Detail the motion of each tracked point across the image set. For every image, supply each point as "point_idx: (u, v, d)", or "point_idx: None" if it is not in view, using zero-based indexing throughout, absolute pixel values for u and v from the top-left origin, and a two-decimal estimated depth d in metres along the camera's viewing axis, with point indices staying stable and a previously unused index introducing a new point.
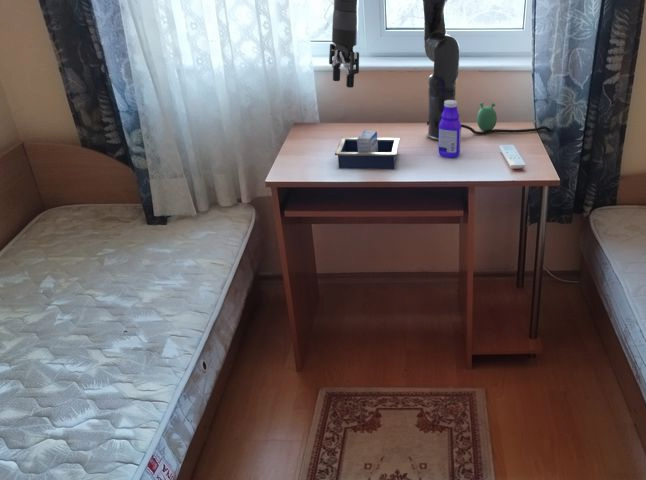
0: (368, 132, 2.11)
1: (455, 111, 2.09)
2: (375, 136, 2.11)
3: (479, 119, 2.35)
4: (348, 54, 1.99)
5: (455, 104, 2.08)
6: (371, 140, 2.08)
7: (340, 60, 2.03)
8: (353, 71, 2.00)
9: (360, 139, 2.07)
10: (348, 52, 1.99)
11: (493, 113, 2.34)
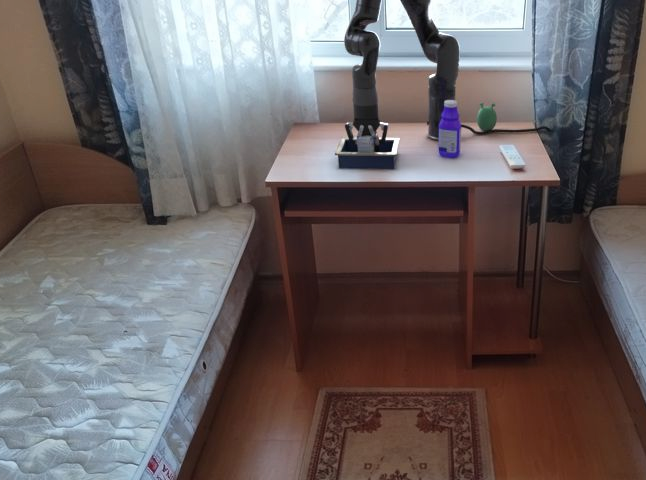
0: None
1: (455, 111, 2.09)
2: None
3: (479, 119, 2.35)
4: (379, 124, 2.07)
5: (455, 104, 2.08)
6: (371, 140, 2.08)
7: (366, 133, 2.08)
8: (384, 140, 2.10)
9: (360, 139, 2.07)
10: (379, 124, 2.07)
11: (493, 113, 2.34)
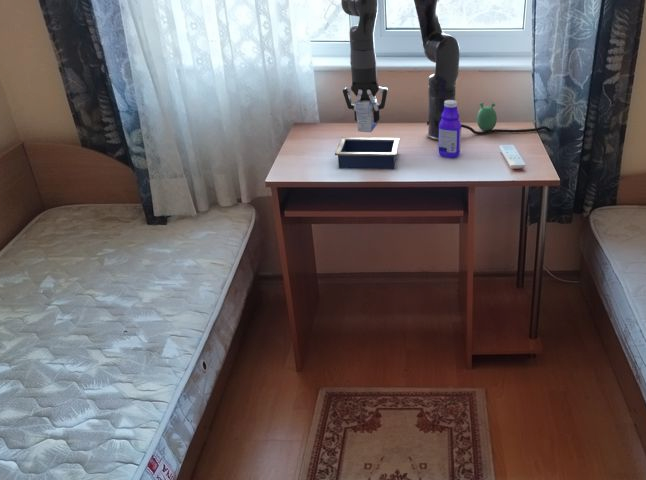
0: None
1: (455, 111, 2.09)
2: None
3: (479, 119, 2.35)
4: (378, 89, 2.01)
5: (455, 104, 2.08)
6: (370, 105, 2.01)
7: (364, 98, 2.02)
8: (384, 105, 2.04)
9: (359, 104, 2.01)
10: (378, 88, 2.01)
11: (493, 113, 2.34)
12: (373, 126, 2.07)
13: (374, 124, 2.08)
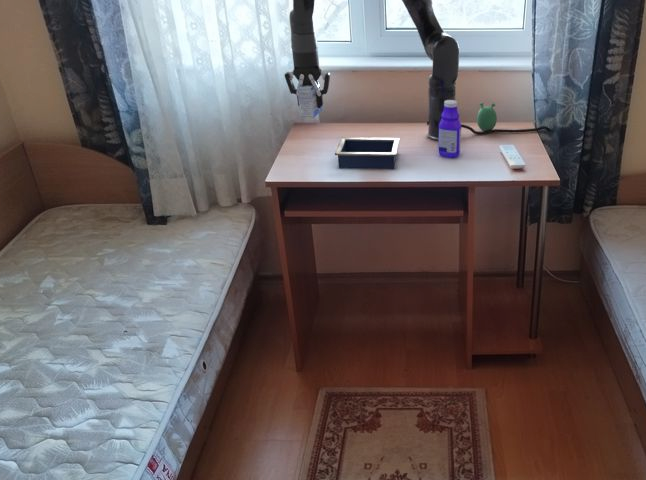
0: None
1: (455, 111, 2.09)
2: None
3: (479, 119, 2.35)
4: (320, 74, 2.00)
5: (455, 104, 2.08)
6: (312, 90, 2.00)
7: (307, 82, 2.01)
8: (326, 91, 2.03)
9: (300, 89, 2.00)
10: (320, 73, 1.99)
11: (493, 113, 2.34)
12: (316, 111, 2.05)
13: (317, 109, 2.06)
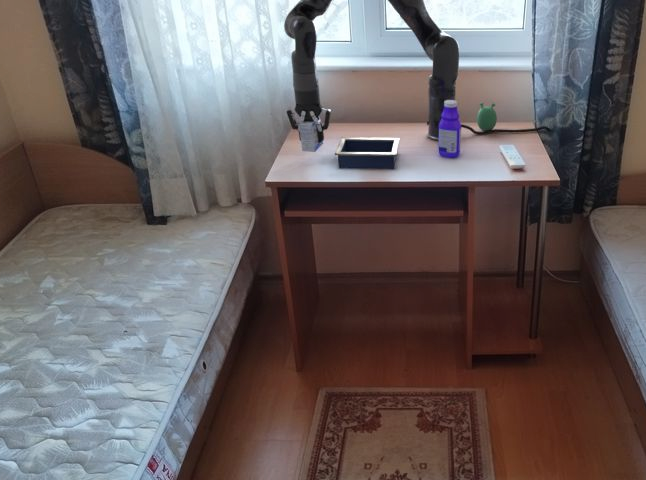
0: None
1: (455, 111, 2.09)
2: None
3: (479, 119, 2.35)
4: (321, 110, 2.06)
5: (455, 104, 2.08)
6: (313, 126, 2.07)
7: (308, 119, 2.07)
8: (327, 126, 2.09)
9: (302, 125, 2.06)
10: (321, 109, 2.06)
11: (493, 113, 2.34)
12: (317, 146, 2.12)
13: (318, 144, 2.13)
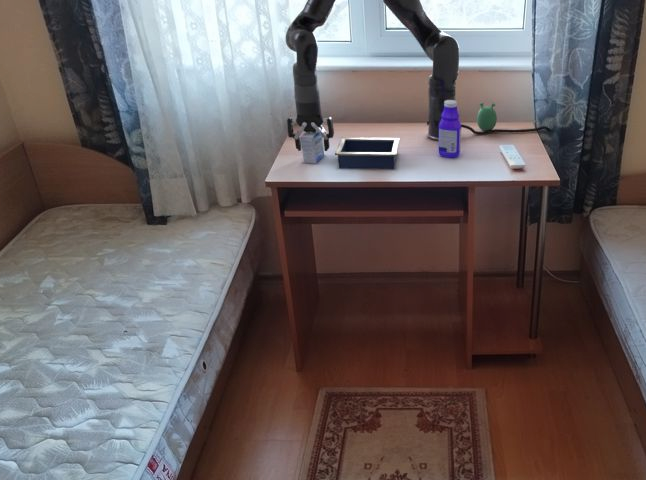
0: None
1: (455, 111, 2.09)
2: (319, 134, 2.13)
3: (479, 119, 2.35)
4: (322, 121, 2.08)
5: (455, 104, 2.08)
6: (314, 138, 2.09)
7: (309, 130, 2.09)
8: (333, 135, 2.11)
9: (303, 137, 2.08)
10: (321, 120, 2.08)
11: (493, 113, 2.34)
12: (318, 158, 2.14)
13: (320, 156, 2.15)
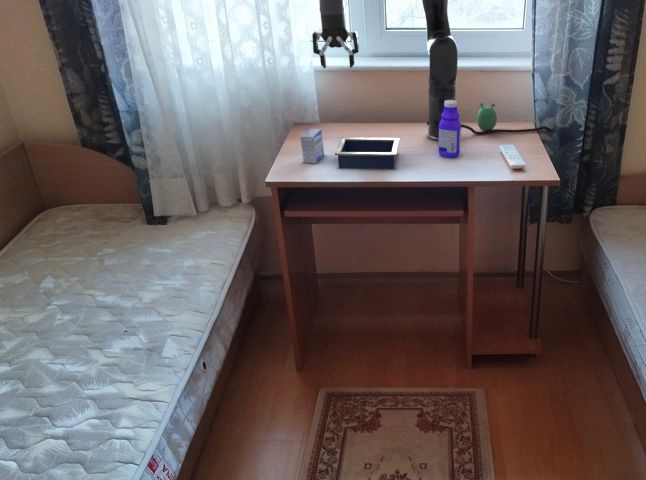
0: (313, 130, 2.12)
1: (455, 111, 2.09)
2: (319, 134, 2.13)
3: (479, 119, 2.35)
4: (347, 36, 2.07)
5: (455, 104, 2.08)
6: (314, 138, 2.09)
7: (334, 45, 2.08)
8: (358, 50, 2.09)
9: (303, 137, 2.08)
10: (347, 34, 2.06)
11: (493, 113, 2.34)
12: (318, 158, 2.14)
13: (320, 156, 2.15)
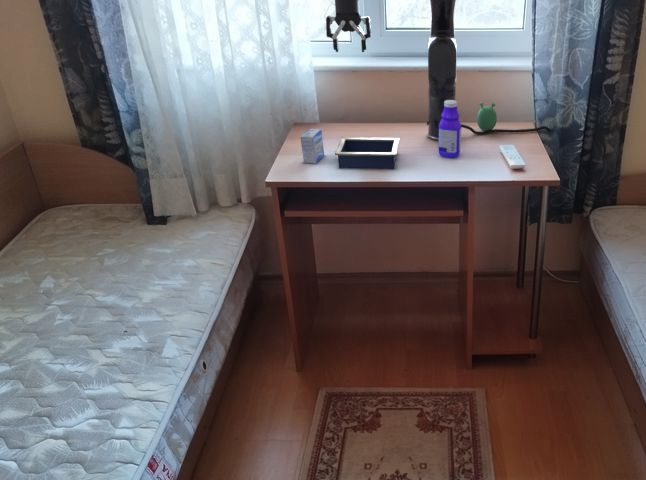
0: (313, 130, 2.12)
1: (455, 111, 2.09)
2: (319, 134, 2.13)
3: (479, 119, 2.35)
4: (360, 20, 2.11)
5: (455, 104, 2.08)
6: (314, 138, 2.09)
7: (347, 29, 2.12)
8: (370, 34, 2.13)
9: (303, 137, 2.08)
10: (360, 18, 2.10)
11: (493, 113, 2.34)
12: (318, 158, 2.14)
13: (320, 156, 2.15)
